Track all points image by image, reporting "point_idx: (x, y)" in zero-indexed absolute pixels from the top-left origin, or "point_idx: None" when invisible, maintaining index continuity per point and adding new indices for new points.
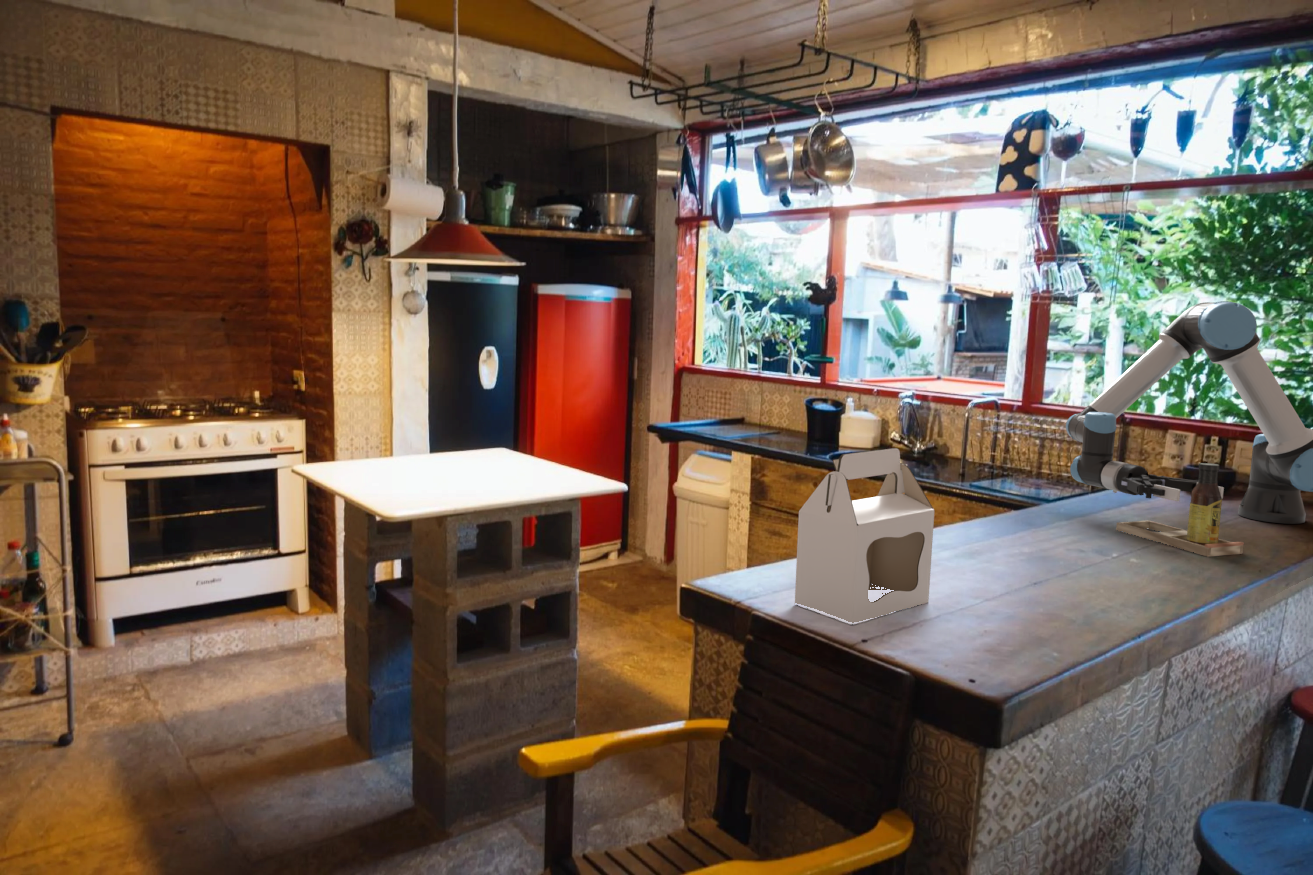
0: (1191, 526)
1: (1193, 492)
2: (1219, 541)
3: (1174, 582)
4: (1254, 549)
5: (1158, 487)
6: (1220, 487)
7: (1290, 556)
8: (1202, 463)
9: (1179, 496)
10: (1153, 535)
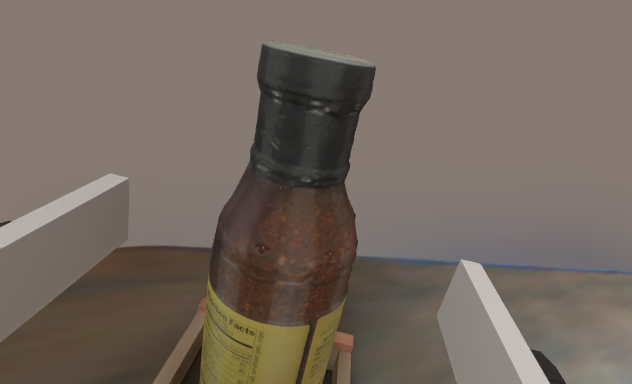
0: (323, 379)
1: (350, 250)
2: (178, 373)
3: (588, 322)
4: (88, 325)
5: None
6: (123, 182)
7: (119, 261)
8: (337, 57)
9: (448, 293)
10: None
